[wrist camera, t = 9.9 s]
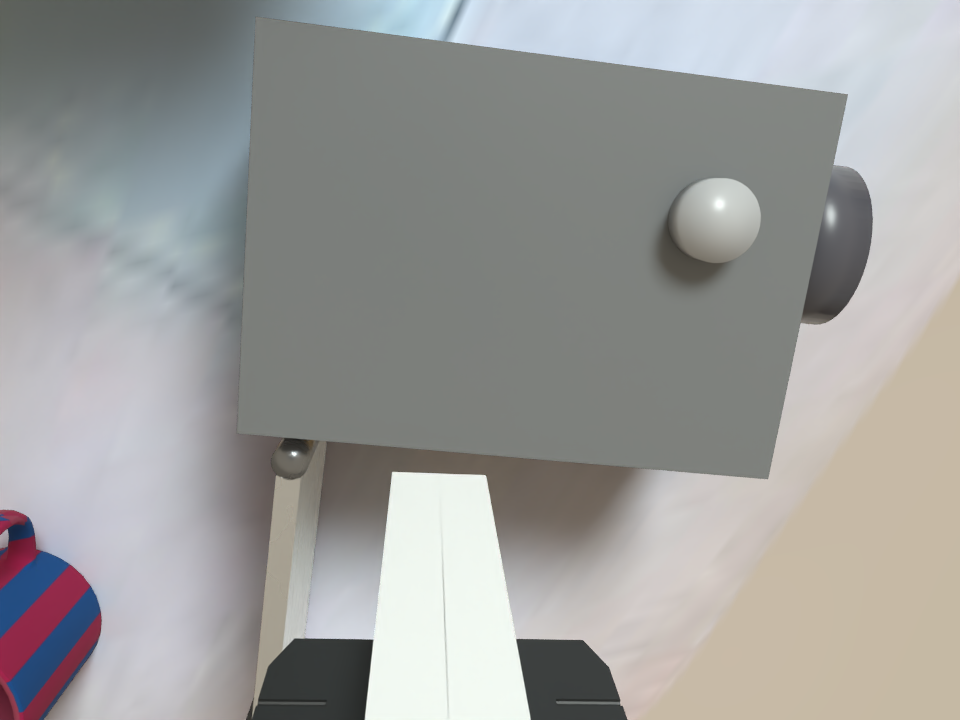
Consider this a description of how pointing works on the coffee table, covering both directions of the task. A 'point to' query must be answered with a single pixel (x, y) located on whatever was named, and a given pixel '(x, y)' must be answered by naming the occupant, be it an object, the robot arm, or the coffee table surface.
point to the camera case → (534, 251)
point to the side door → (290, 549)
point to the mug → (40, 623)
